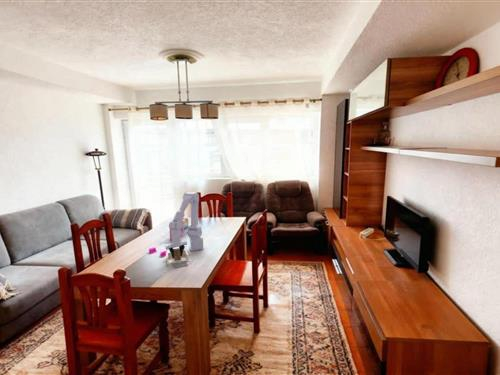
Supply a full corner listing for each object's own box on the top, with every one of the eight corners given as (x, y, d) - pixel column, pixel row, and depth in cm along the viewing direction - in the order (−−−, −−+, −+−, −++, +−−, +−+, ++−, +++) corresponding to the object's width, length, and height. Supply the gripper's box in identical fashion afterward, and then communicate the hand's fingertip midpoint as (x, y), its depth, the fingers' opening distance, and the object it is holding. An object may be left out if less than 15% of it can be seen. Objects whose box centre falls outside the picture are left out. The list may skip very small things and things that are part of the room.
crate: (186, 255, 194) (186, 249, 193) (188, 260, 185) (188, 254, 184) (166, 258, 189) (165, 252, 188) (167, 264, 180) (166, 258, 179)
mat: (186, 262, 183) (186, 261, 183) (188, 266, 176) (188, 265, 176) (172, 264, 180) (172, 263, 180) (173, 268, 173) (173, 267, 173)
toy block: (146, 259, 199) (146, 249, 198) (153, 256, 205) (153, 247, 204) (160, 264, 191) (159, 254, 190) (167, 261, 197) (166, 251, 196)
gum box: (176, 240, 226) (176, 225, 224) (168, 239, 228) (168, 225, 226) (189, 232, 247) (188, 218, 245) (181, 231, 249) (181, 218, 247)
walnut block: (179, 257, 189) (179, 248, 188) (180, 259, 185) (180, 250, 184) (174, 258, 187) (173, 248, 186) (174, 260, 184) (173, 251, 183)
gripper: (183, 234, 191) (184, 252, 193) (163, 238, 183) (164, 257, 185) (187, 236, 186) (188, 255, 188) (167, 241, 177) (168, 261, 179)
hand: (177, 256), depth 186 cm, fingers closed on walnut block, 5 cm apart
